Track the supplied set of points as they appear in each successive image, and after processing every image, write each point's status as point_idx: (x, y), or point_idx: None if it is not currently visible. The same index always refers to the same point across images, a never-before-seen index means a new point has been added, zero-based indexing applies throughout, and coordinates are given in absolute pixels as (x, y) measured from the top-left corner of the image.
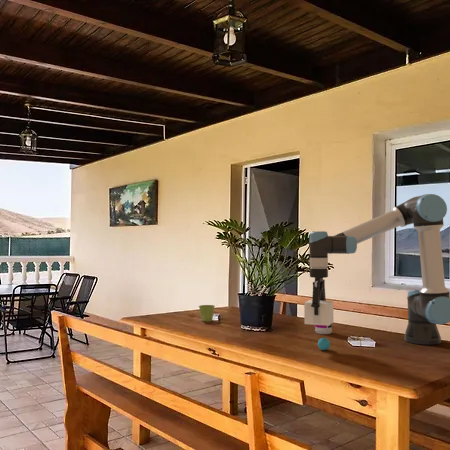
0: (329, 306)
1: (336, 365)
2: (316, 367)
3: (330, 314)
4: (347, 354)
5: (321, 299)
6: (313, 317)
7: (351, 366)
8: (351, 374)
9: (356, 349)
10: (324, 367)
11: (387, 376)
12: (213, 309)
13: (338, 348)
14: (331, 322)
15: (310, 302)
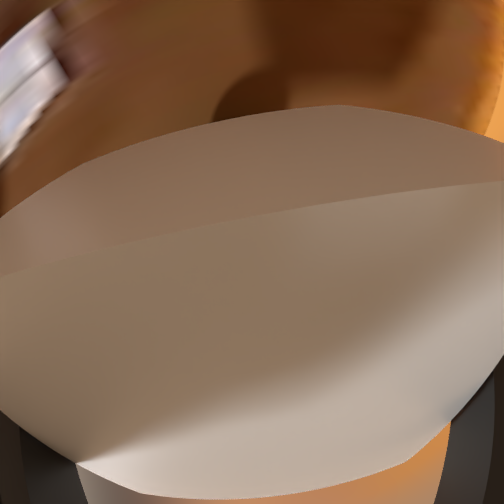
0: (489, 145)
1: (451, 51)
2: (486, 115)
3: (284, 120)
4: (260, 21)
5: (50, 459)
6: None
7: (437, 3)
8: (493, 19)
9: (125, 28)
10: (479, 90)
11: None
12: None
13: (149, 105)
14: (202, 125)
15: (382, 462)
